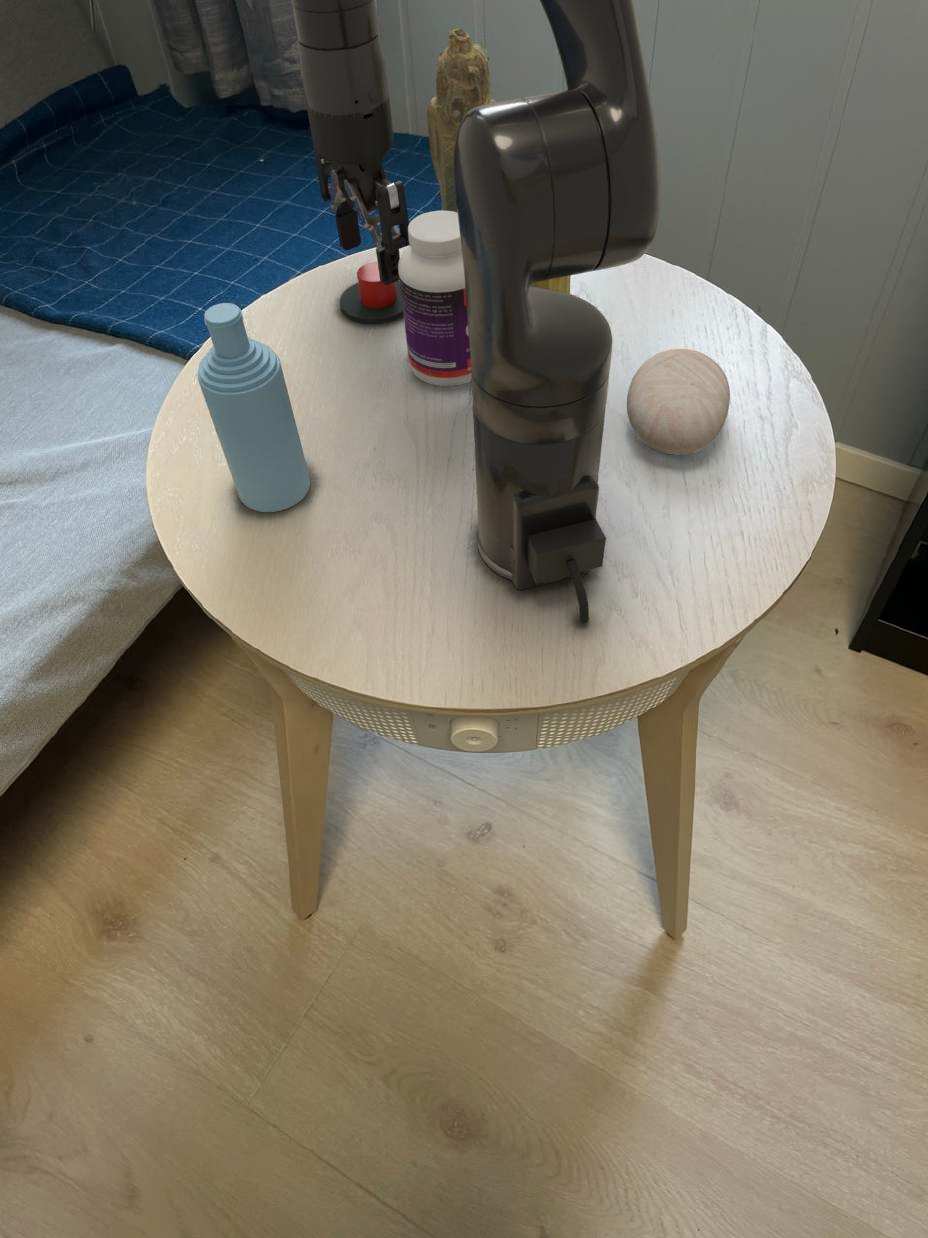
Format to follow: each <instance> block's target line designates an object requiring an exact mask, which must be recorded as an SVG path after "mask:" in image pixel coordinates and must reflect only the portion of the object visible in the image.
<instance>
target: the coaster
mask: <svg viewBox="0 0 928 1238" xmlns="http://www.w3.org/2000/svg"><path fill="white" fill-rule="evenodd" d="M395 285H396V294H397V298H396V301H395V302H394V303H393V304H391V305H389V306H387V307H384V308H370V307H367V306H365V305H364V304H363V303H362V302H361V297H360V290H359V284H358V282H356V283H354V284H352V285H350V286H349V287H348V288H346V289H345V290H344V291H343V292H342V294H341V296H340V299H339V306H340V310H341V312H342V314H343V315H344V316H345V317H346V318H347V319H349V320H351V321H353V322H356V323H360V324H365V325H379V324H386V323H389V322H392V321H395V320H398V319H400V318H402V317H404V314H403V305H402V297H401V288H400V280H399V281H396V282H395Z"/></svg>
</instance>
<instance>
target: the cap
mask: <svg viewBox="0 0 928 1238" xmlns="http://www.w3.org/2000/svg"><path fill="white" fill-rule="evenodd" d="M356 277H357V283H358V284H359V290H360V297H361V302H362V303H363V304H364V305H365V306H367V307H370V308H384V307H387V306H389V305H391V304H393V303H394V302H395V301H396V298H397V294H396V285H395V282H394V283H391V284H389V285H385V284H384V283H382V282H381V281H380V276H379V269H378V262H377V261H372V262H368V263H366V264H363V265H361V266H360V267H359V268H358V269H357V271H356Z"/></svg>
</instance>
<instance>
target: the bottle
mask: <svg viewBox="0 0 928 1238" xmlns="http://www.w3.org/2000/svg"><path fill="white" fill-rule="evenodd" d="M203 318H204V320H203V321H204V325H205V326H206V327H207V330H208V334H209V336H210V339H211V342H212V346H211V347H210V349H209V350H208V351H207V352H206V353H205V355H204V356H203V357H202V359H201V361H200V362H199V364H198V369H197V375H196V376H197V381H198V384H199V387H200V389H201V392H202V395H203V398H204V401H205V403H206V406H207V409H208V412H209V415H210V418H211V421H212V424H213V427H214V429H215V432H216V435H217V438H218V440H219V443H220V446H221V449H222V452H223V454H224V458H225V461H226V463H227V467H228V469H229V472H230V475H231V477H232V480H233V483H234V486H235V488H236V489H235V490H236V492H237V494H238V498H239V500H240V501H241V502H242V504H243V505H244V506H246V507H247V508H249V509H251V510H253V511H256V512H260V513H276V512H281V511H284V510H288V509H290V508H291V507H292V508H293V507H294V506H296V505H297V504H299V503H300V502H301V501H302V500H303V499H304V498H305V497H306V495H307V494H308V493H309V490H310V488H311V478H310V477H311V476H310V473H309V469H308V465H307V461H306V457H305V453H304V449H303V445H302V442H301V437H300V433H299V429H298V426H297V422H296V419H295V418H296V417H295V414H294V410H293V406H292V402H291V398H290V396H289V391H288V387H287V384H286V379H285V375H284V372H283V368H282V364H281V359H280V357H279V356H278V354H277V353H276V352H275V351H274V350H273V349H272V347H270V346H269V345H268V344H265V343H262V342H260V341H258V340H255V339H253V338H250V337H248V334H247V330H246V327H245V323H244V315H243V311H242V309H241V308H240V307H239V306H238V305H236V304H234V303H231V302H221V303H217V304H214V305H212V306H210V307H208V308H207V309H206V311H204V315H203Z"/></svg>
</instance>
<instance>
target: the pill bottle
mask: <svg viewBox="0 0 928 1238" xmlns="http://www.w3.org/2000/svg"><path fill="white" fill-rule="evenodd" d="M408 236H409V243H410V245H409V246H407V247H405V249H404V250H403V252H402V253H401V255H400V259H399V264H398V271H399V281H400V288H401V297H402V305H403V314H404V315H403V321H404V322H403V323H404V331H405V340H406V349H407V357H408V364H409V368H410V369H411V371H412V373H413V374H414V375H415V376H416V377H417V378H418V379H419V380H421V381H422V382H425V383H427V384H429V385H434V386H437V387H455V386H460V385H461V386H462V385H465V384H467V383H470V382H472V380H471V357H470V342H469V332H468V322H467V309H466V294H465V279H464V268H463V258H462V248H461V240H460V231H459V223H458V214H457V212H453V211H442V210H434V211H429V212H424V213H422V214H419V215H417V216H416V217H414V218H413V219H412V220H410V221H409V226H408Z"/></svg>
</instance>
